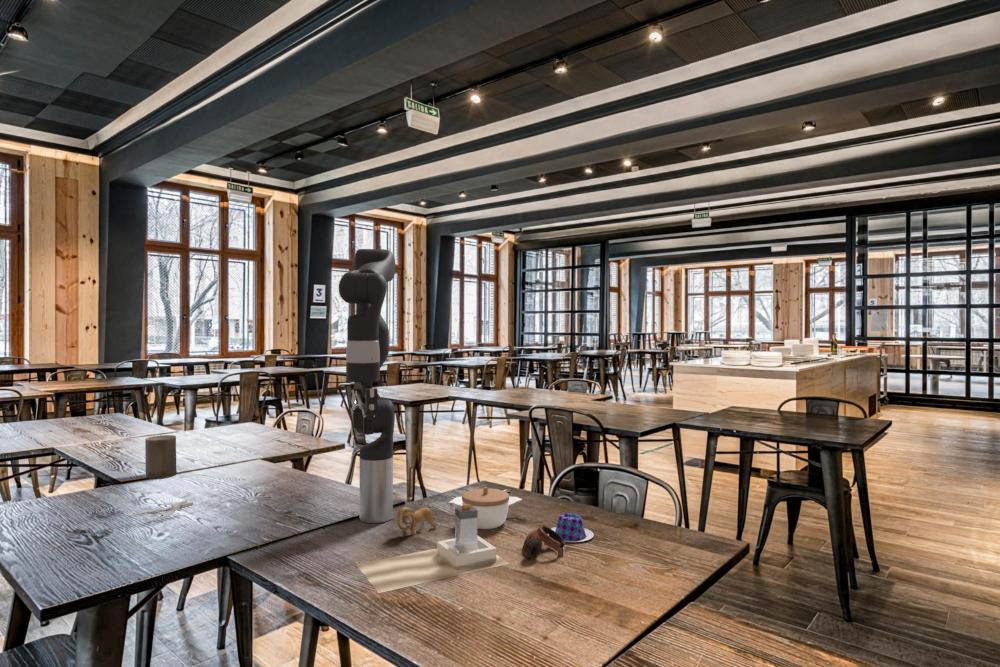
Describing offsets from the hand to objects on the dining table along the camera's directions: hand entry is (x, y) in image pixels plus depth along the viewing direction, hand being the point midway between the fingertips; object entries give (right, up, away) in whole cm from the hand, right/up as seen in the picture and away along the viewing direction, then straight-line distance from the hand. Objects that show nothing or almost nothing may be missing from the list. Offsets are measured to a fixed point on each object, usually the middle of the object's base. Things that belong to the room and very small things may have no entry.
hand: (363, 431), depth 136 cm
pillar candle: (-90, -29, +76) cm, 121 cm away
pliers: (-65, -30, +35) cm, 80 cm away
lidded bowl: (+28, -30, +23) cm, 47 cm away
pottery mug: (+41, -31, +2) cm, 51 cm away
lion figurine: (+10, -30, +16) cm, 36 cm away
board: (+17, -30, -5) cm, 35 cm away
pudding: (+50, -31, +18) cm, 61 cm away
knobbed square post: (+24, -28, -1) cm, 37 cm away
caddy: (+24, -29, -1) cm, 37 cm away
